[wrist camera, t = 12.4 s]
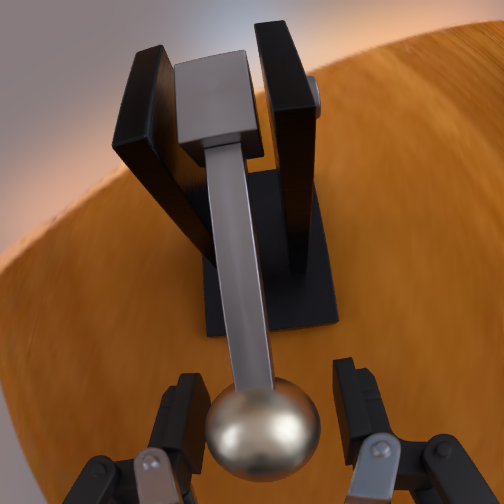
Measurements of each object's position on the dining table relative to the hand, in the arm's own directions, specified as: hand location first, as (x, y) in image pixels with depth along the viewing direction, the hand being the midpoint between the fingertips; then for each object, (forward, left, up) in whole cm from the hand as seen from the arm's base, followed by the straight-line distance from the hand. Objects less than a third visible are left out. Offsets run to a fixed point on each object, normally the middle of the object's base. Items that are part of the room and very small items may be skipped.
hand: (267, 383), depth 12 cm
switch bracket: (-1, +8, -7) cm, 11 cm away
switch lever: (-1, +4, +2) cm, 5 cm away
